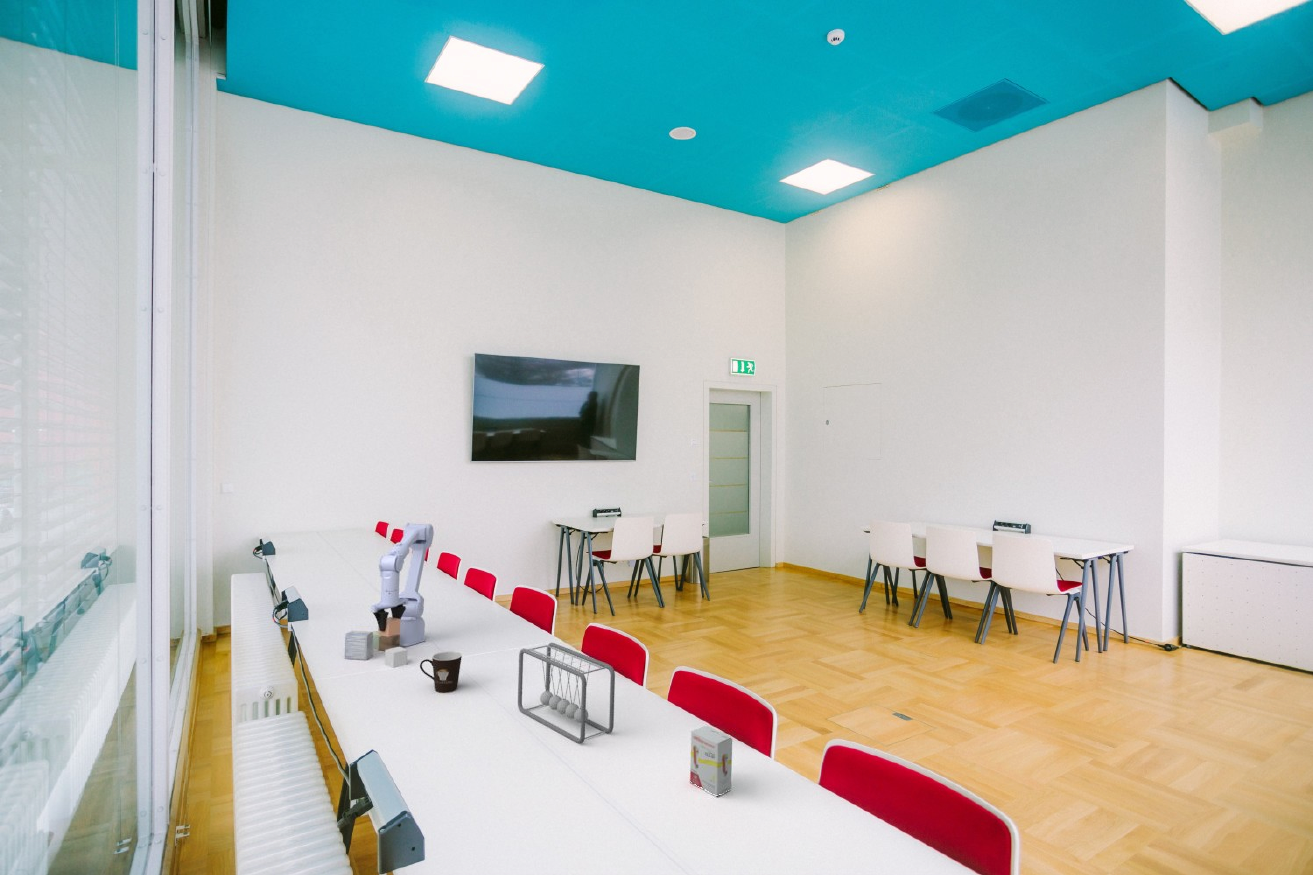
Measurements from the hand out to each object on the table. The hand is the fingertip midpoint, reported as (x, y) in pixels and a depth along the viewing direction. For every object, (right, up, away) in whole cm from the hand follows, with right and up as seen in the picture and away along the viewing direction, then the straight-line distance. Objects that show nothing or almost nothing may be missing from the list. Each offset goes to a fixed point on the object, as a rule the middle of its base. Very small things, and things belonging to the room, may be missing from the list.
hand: (389, 629), depth 235 cm
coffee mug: (+27, -10, -29) cm, 41 cm away
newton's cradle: (+67, -11, -51) cm, 85 cm away
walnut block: (-3, -10, +8) cm, 13 cm away
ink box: (+104, -11, -84) cm, 135 cm away
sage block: (-8, -9, +11) cm, 16 cm away
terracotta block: (0, -2, 0) cm, 2 cm away
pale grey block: (+6, -10, -8) cm, 14 cm away
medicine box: (-9, -9, -2) cm, 14 cm away
